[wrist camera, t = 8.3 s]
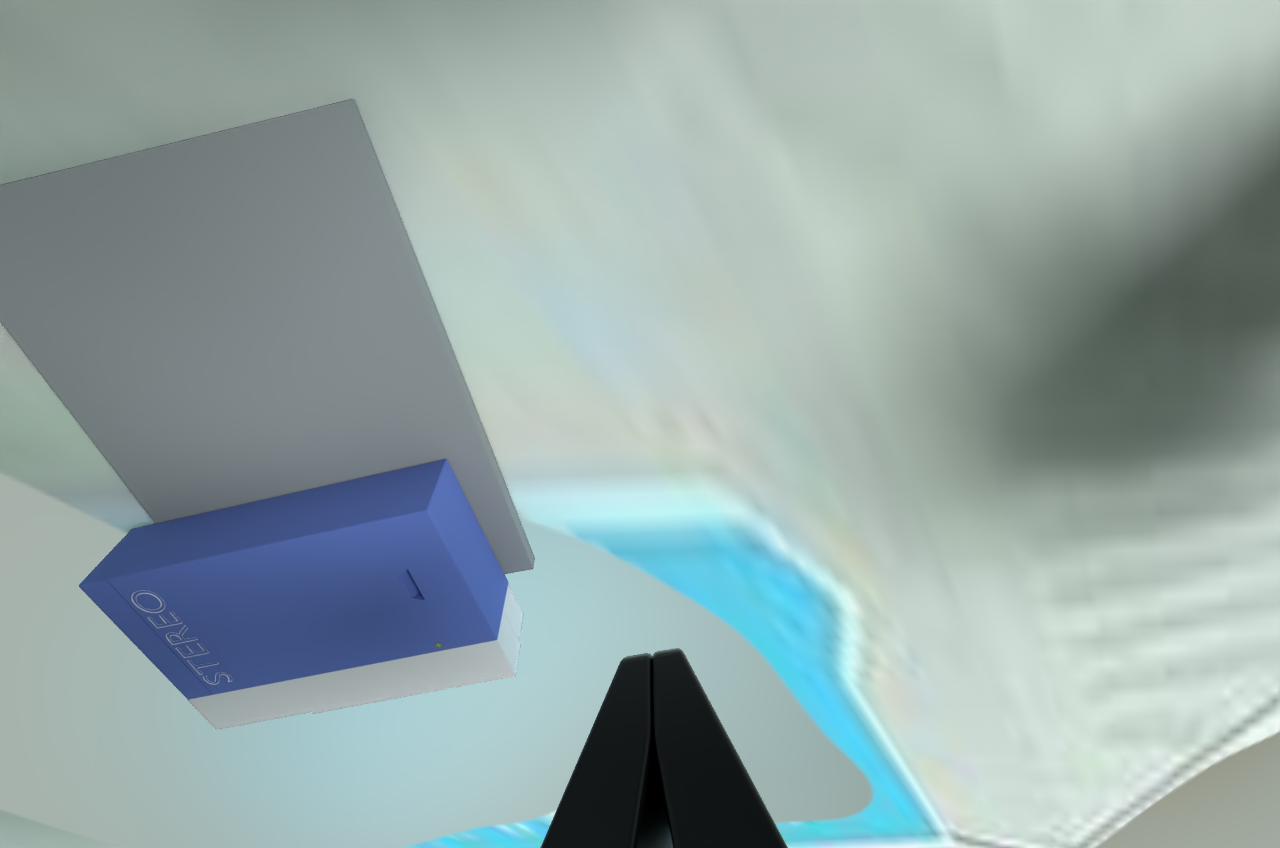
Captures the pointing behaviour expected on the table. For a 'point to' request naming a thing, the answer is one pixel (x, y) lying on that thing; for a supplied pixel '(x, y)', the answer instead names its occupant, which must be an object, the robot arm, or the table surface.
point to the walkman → (317, 598)
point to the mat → (244, 321)
